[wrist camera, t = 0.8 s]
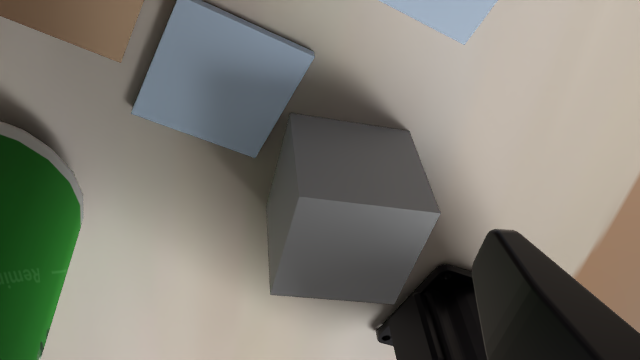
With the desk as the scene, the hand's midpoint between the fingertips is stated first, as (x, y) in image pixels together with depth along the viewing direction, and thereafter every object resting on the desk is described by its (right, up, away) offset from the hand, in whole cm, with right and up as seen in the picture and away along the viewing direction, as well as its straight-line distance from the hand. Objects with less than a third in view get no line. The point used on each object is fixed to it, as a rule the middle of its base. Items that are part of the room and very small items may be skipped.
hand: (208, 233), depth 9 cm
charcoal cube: (+2, +1, +16) cm, 16 cm away
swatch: (-2, +4, +12) cm, 13 cm away
